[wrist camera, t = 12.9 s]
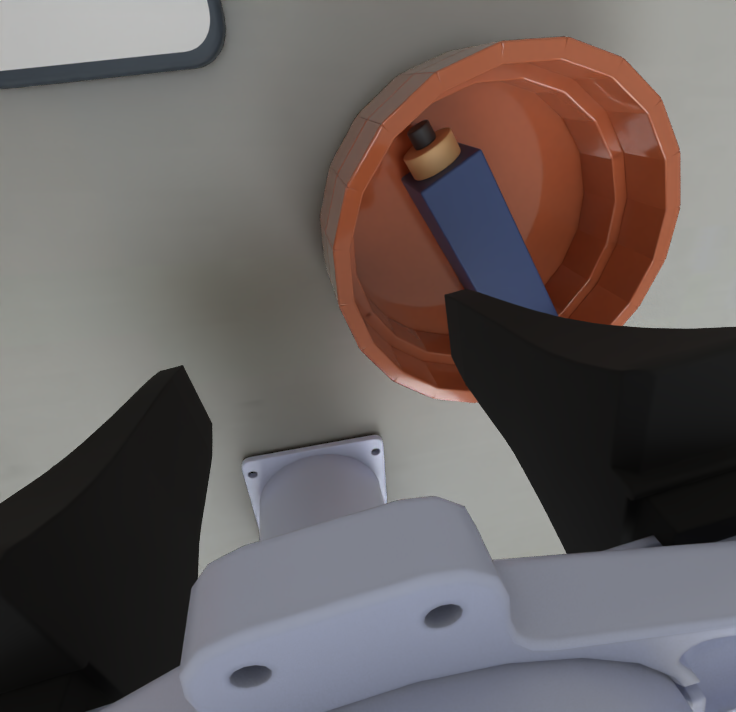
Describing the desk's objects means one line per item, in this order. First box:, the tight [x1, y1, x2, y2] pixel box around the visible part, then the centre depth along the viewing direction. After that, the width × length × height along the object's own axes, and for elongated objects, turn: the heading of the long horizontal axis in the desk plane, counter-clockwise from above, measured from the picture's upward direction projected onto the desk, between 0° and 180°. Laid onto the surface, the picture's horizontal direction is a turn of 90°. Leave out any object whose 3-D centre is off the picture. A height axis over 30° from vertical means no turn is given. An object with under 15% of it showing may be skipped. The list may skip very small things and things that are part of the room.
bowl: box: [320, 36, 680, 403], centre depth 19 cm, size 13×13×5 cm
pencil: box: [401, 119, 558, 316], centre depth 19 cm, size 10×3×3 cm, turn 34°
